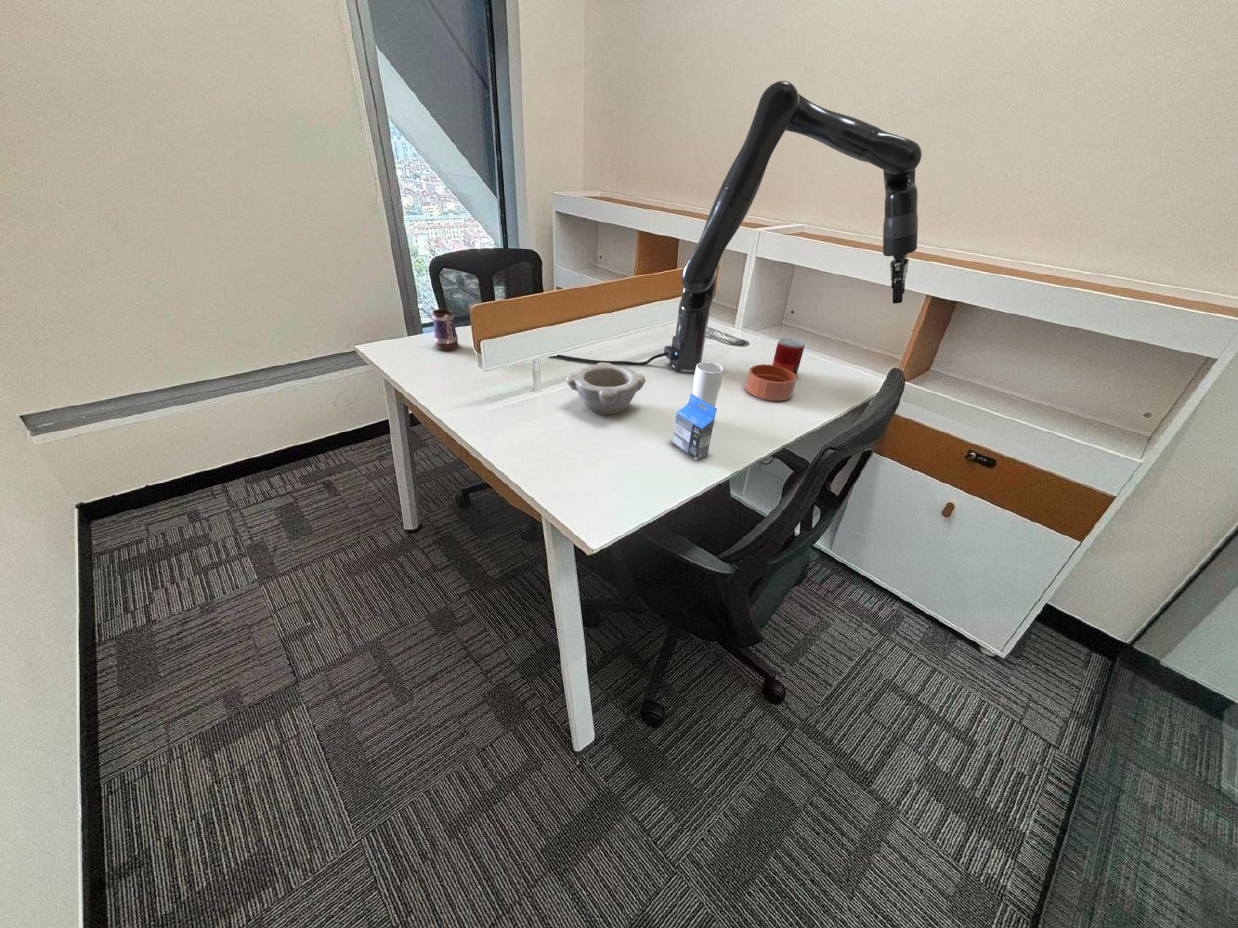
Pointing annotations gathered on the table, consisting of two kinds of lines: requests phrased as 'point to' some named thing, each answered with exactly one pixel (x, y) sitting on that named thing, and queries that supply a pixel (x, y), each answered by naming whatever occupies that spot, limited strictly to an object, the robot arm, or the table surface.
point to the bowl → (771, 382)
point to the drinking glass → (707, 382)
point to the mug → (444, 330)
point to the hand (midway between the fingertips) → (898, 298)
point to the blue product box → (694, 427)
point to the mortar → (606, 387)
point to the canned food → (789, 353)
